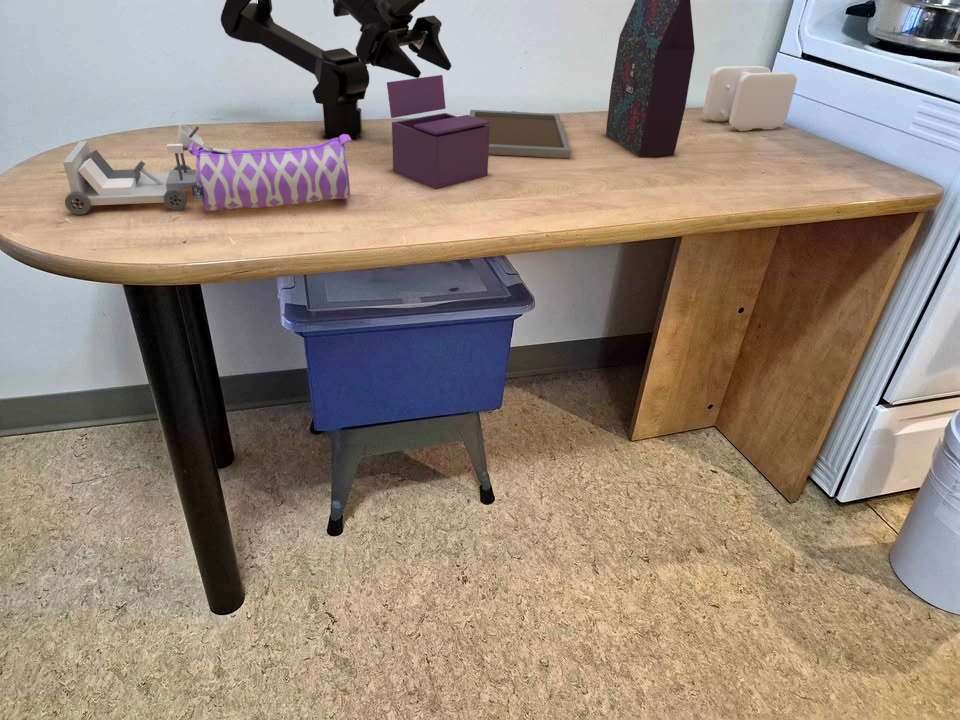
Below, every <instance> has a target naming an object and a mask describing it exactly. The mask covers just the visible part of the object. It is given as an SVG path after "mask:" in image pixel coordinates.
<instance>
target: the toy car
mask: <svg viewBox="0 0 960 720" xmlns="http://www.w3.org/2000/svg"><path fill="white" fill-rule="evenodd" d="M199 130H200V127H199V126H196V127H195V128H194V129H191V128H189V126H187V125H185V124H182V123H179V125H178V129H177V135H176V136H177V137H176V143H167V145H166V149H167V154H174V155H175V161H176V166H175V167H174V168H173V169H171V170H170V171H169V172H154V173H153V172H152V173H151V172H149V171H148V170H147V169H145V168H144V167H145V165H146V162H144V161H143V160H140V161H139V163H137V165H136V166H135V167H134V168H133V169H131V168H130V169H113V168H112V167H111V165H110V164H109V163H108V162H107V161H106V159H105V158H104V157H103V156H102V154H100V152H99V151H98V150H97V149H95V150H93V151H91V150H90V145H89V143H88V140H79V141H78V143H76V145H75V146H74V147H73V149H72V150H71V151H70V153H69V154H68V156H66V158H65V159H64V160H63V161H62V164H63V167H64V171H65V174H66V178H67V181H68V185H69V189H70V191H71V192H70V193H68V194H67V196H66V197H65V198H64V206H65V207H66V209H67V210H68V211H69V212H70V213H72V214H74V215H85V214H87V213H88V212H89V211H90V210H91V207H92V206H109V205H110V206H111V205H132V204H150V203H151V204H156V203H158V204H159V203H164V204H165V206H166V207H167V208H169V209H170V210H172V211H181V210H183V209H185V207H186V206H187V204H188V196H187V194H186V193H185V191H186V190H191V191H192V185H197V179H196V168H195V169H193V168H191V167H190V166H189V165H187V164H186V161H185V155H184V153H185V151H189V148H190V144H191V143H192V142H193V143H194V146H193V147H194V148H196V149H198V148H199V147H200V146H202V147H203V146H205V142H204V140H203V139H202V138H201V136H200V135H198V134H197V133H198V131H199ZM179 154H180V156H179ZM180 159H181V161H180ZM195 188H197V186H196V187H195Z"/></svg>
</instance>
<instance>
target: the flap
mask: <svg viewBox="0 0 960 720" xmlns="http://www.w3.org/2000/svg"><path fill="white" fill-rule="evenodd" d="M386 88H387V96H388V103H389V112H390V119H394V118H399V117H400V118H401V117H406V116H412V115H417V114H424V113H429V112H430V113H431V112H436V111H441V110H445V109H446V98H445V87H444V77H443V74H438V75H431V76H423V77H419V78H415V77H414V78H408V79H401V80H395V81H386Z"/></svg>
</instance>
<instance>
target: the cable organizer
mask: <svg viewBox="0 0 960 720" xmlns="http://www.w3.org/2000/svg"><path fill="white" fill-rule="evenodd" d="M797 83H798V78H797V75H796V74H795V73H791V72H788V71H778V72H777V71H775V72H771V69H770V68H769V67H767V66H763V65H730V66H727V65H725V66H722V65H721V66H717V67H716V68H714V69H713V70H712V71H711V74H710V75H709V81H708V86H707V89H706V95H705V100H704V104H703V109H702V114H703V116H704V117H705V118H707V119H710V120H711V121H713V122H726V121H727V120H728V123H729V126H730V127H732V128H734V129H736V131H738V132H745V131H752V130H753V129H761V130H765V131H766V130H775V129H776V128H779V127H781V126H783V125H784V123H785V122H786V121H787V118H788V115H789V113H790V112H789V111H790V109H791V104H792V101H793V96H794V93H795V90H796V86H797Z"/></svg>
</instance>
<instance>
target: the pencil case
mask: <svg viewBox="0 0 960 720" xmlns="http://www.w3.org/2000/svg"><path fill="white" fill-rule="evenodd" d="M350 142H352V139H351V138H350V136H349V135H347V134H342V135H340V136H339V138H329V140H327V141H324V142H321V143H316V144H312V145H311V144H310V145H301V146H288V147H286V146H285V147H270V148H269V147H261V148H229V149H227V148H221V147H211V145H206V144H204V145H202V146H200V147H198V148H194V147H193V146H194V143H193V142H192V143H191V144H190V148H189V150H188V152H189V154H191V155H192V156H195V169H196V179H197V185H192V189H191V192H192V199H193V200H195V201H199V200H201V202H202V205H203V208H204V210H205V211H207V212H214V211H227V210H228V211H229V210H237V209H259V208H260V209H261V208H272V207H281V206H288V205H289V206H290V205H299V204H300V205H301V204H308V203H315V202H323V201H329V200H330V201H331V200H346V199H348V198H350V196H351V186H350V177H349V176H350V175H349V169H348V162H347V157H346V146H345V144H346V143H347V144H348V143H350ZM196 186H197V188H195V187H196Z"/></svg>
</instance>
